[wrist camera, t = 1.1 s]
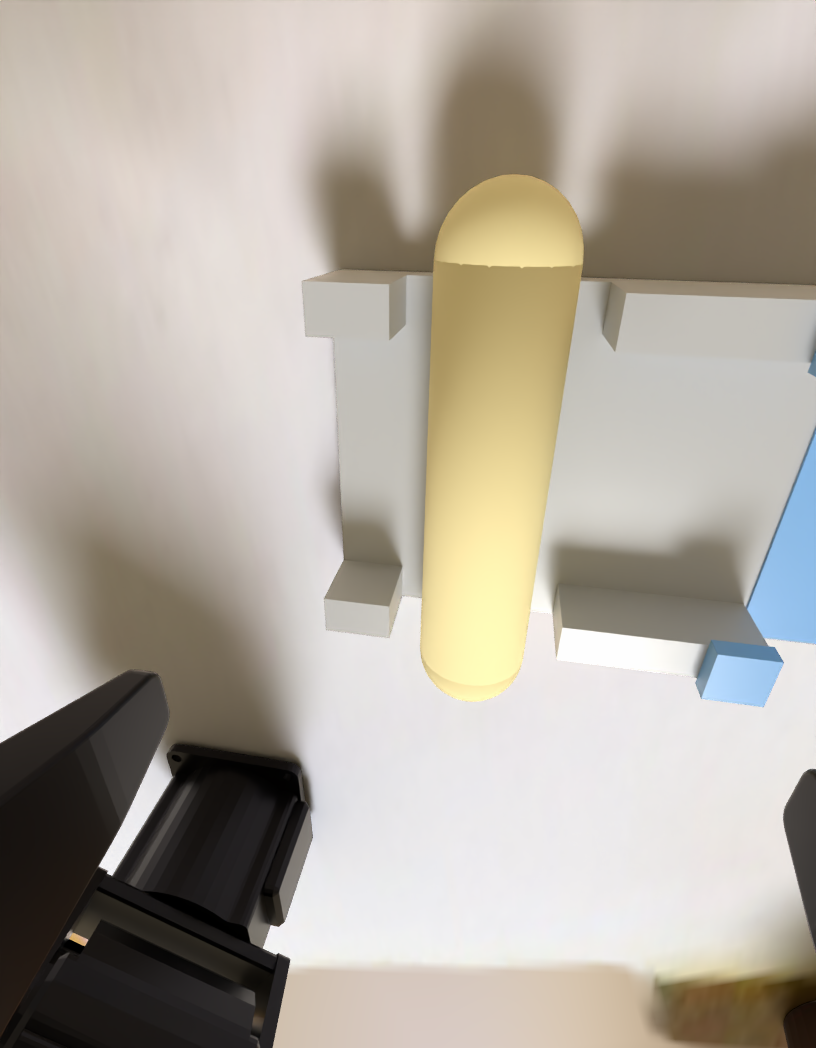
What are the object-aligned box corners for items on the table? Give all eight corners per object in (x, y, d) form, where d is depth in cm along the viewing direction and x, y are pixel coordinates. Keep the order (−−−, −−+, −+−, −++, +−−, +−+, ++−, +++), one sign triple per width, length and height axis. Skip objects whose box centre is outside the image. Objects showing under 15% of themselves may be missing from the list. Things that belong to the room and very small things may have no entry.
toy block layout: (352, 577, 20) (320, 647, 17) (340, 261, 15) (291, 273, 12) (976, 649, 17) (1083, 749, 14) (1217, 288, 12) (1470, 315, 9)
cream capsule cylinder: (517, 658, 19) (517, 731, 17) (426, 646, 20) (411, 716, 17) (587, 179, 13) (607, 169, 10) (445, 178, 13) (426, 168, 10)
